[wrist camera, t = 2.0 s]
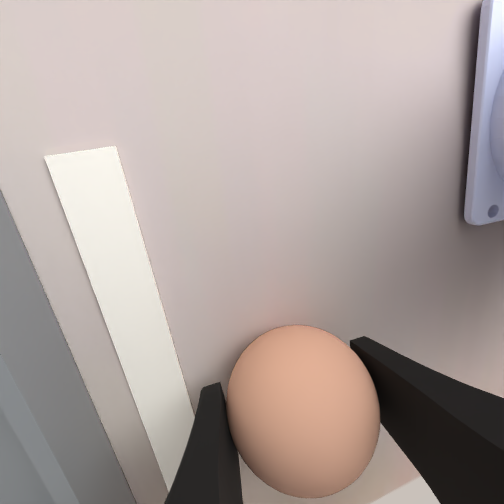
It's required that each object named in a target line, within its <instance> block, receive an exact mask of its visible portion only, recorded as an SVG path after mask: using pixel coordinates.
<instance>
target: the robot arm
mask: <svg viewBox="0 0 504 504" xmlns="http://www.w3.org/2000/svg"><path fill="white" fill-rule="evenodd" d="M464 219H465V221H466V222H467V223H469V224H472V225H484V224H488V223H493V222H497V221H502V220H504V0H483V2H482V7H481V15H480V27H479V39H478V51H477V63H476V76H475V88H474V100H473V112H472V124H471V136H470V148H469V160H468V172H467V184H466V196H465V209H464ZM350 348H351V349H352V350H353V351H354V352H355V353H356V354H357V356H358V357H359V358H360V360H361V361H362V362H363V364H364V365H365V367H366V369H367V370H368V372H369V374H370V376H371V378H372V380H373V383H374V386H375V389H376V392H377V396H378V401H379V407H380V422H381V424H382V425H383V426H384V428H385V429H386V430H387V431H388V433H389V434H390V435H391V437H392V438H393V439H394V440H395V442H396V443H397V444H398V446H399V447H400V448H401V449H402V451H403V452H404V453H405V455H406V456H407V457H408V459H409V460H410V461H411V462H412V464H413V465H414V466H415V468H416V469H417V470H418V472H419V473H420V474H421V476H422V477H423V478H424V480H425V481H426V483H427V484H428V485H429V487H430V488H431V490H432V491H433V493H434V495H435V496H436V497H437V499H438V500H439V502H440V503H441V504H504V398H501V397H499V396H496V395H493V394H491V393H488V392H485V391H482V390H480V389H477V388H474V387H472V386H469V385H467V384H464V383H462V382H459V381H457V380H455V379H452V378H450V377H448V376H445V375H443V374H441V373H438V372H436V371H434V370H432V369H430V368H428V367H425V366H423V365H421V364H419V363H417V362H415V361H413V360H411V359H409V358H407V357H405V356H403V355H401V354H399V353H397V352H395V351H393V350H391V349H389V348H387V347H385V346H383V345H381V344H379V343H377V342H375V341H373V340H372V339H370V338H367V337H365V336H363V337H360V338H356V339H353V340H350ZM164 504H243V500H242V489H241V478H240V467H239V456H238V450H237V448H236V446H235V444H234V441H233V439H232V436H231V433H230V429H229V424H228V419H227V410H226V400H225V397H224V394H223V391H222V387H221V384H220V382H219V383H215V384H212V385H209V386H206V387H203V389H202V390H201V394H200V399H199V403H198V408H197V412H196V415H195V419H194V423H193V426H192V429H191V433H190V436H189V439H188V442H187V445H186V448H185V451H184V454H183V457H182V460H181V462H180V465H179V468H178V471H177V473H176V476H175V479H174V481H173V484H172V486H171V489H170V491H169V494H168V496H167V498H166V501H165V503H164Z"/></svg>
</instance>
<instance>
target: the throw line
mask: <svg viewBox="0 0 504 504" xmlns="http://www.w3.org/2000/svg"><path fill="white" fill-rule="evenodd" d="M44 158H45V161H46V163H47V166H48V169H49V171H50V174H51V177H52V180H53V182H54V185H55V188H56V190H57V193H58V196H59V198H60V201H61V204H62V206H63V209H64V212H65V215H66V217H67V220H68V223H69V225H70V228H71V231H72V233H73V236H74V239H75V242H76V244H77V247H78V250H79V252H80V255H81V258H82V260H83V263H84V266H85V268H86V271H87V274H88V277H89V279H90V282H91V285H92V287H93V290H94V293H95V295H96V298H97V301H98V303H99V306H100V309H101V312H102V314H103V317H104V320H105V322H106V325H107V328H108V330H109V333H110V336H111V338H112V341H113V344H114V347H115V349H116V352H117V355H118V357H119V360H120V363H121V365H122V368H123V371H124V373H125V376H126V379H127V382H128V384H129V387H130V390H131V392H132V395H133V398H134V400H135V403H136V406H137V408H138V411H139V414H140V417H141V419H142V422H143V425H144V427H145V430H146V433H147V435H148V438H149V441H150V443H151V446H152V449H153V452H154V454H155V457H156V460H157V462H158V465H159V468H160V470H161V473H162V476H163V478H164V481H165V484H166V487H167V489H168V492H169V491H170V489H171V486H172V484H173V481H174V479H175V476H176V473H177V471H178V468H179V465H180V462H181V460H182V457H183V454H184V451H185V448H186V445H187V442H188V439H189V436H190V433H191V429H192V426H193V423H194V419H195V415H194V412H193V409H192V405H191V402H190V398H189V395H188V391H187V388H186V384H185V381H184V378H183V374H182V371H181V367H180V364H179V360H178V357H177V354H176V350H175V347H174V343H173V340H172V336H171V333H170V329H169V326H168V323H167V319H166V316H165V312H164V309H163V305H162V302H161V299H160V295H159V292H158V288H157V285H156V281H155V278H154V274H153V271H152V268H151V264H150V261H149V257H148V254H147V250H146V247H145V244H144V240H143V237H142V233H141V230H140V226H139V223H138V219H137V216H136V213H135V209H134V206H133V202H132V199H131V195H130V192H129V189H128V185H127V182H126V178H125V175H124V171H123V168H122V164H121V161H120V158H119V154H118V151H117V147H116V146H110V147H104V148H97V149H90V150H83V151H76V152H70V153H63V154H56V155H49V156H44Z"/></svg>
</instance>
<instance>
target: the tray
mask: <svg viewBox="0 0 504 504" xmlns="http://www.w3.org/2000/svg"><path fill="white" fill-rule="evenodd" d="M0 504H136V502H135V500H134V497H133V495H132V493H131V490H130V488H129V486H128V483H127V481H126V479H125V477H124V474H123V472H122V470H121V467H120V465H119V463H118V460H117V458H116V456H115V453H114V451H113V449H112V447H111V444H110V442H109V440H108V437H107V435H106V433H105V430H104V428H103V426H102V423H101V421H100V419H99V417H98V414H97V412H96V410H95V407H94V405H93V403H92V400H91V398H90V396H89V394H88V391H87V389H86V387H85V384H84V382H83V380H82V377H81V375H80V373H79V370H78V368H77V366H76V364H75V361H74V359H73V357H72V354H71V352H70V350H69V347H68V345H67V343H66V340H65V338H64V336H63V334H62V331H61V329H60V327H59V324H58V322H57V320H56V317H55V315H54V313H53V310H52V308H51V306H50V304H49V301H48V299H47V297H46V294H45V292H44V290H43V287H42V285H41V283H40V280H39V278H38V276H37V274H36V271H35V269H34V267H33V264H32V262H31V260H30V257H29V255H28V253H27V251H26V248H25V246H24V244H23V241H22V239H21V237H20V234H19V232H18V230H17V227H16V225H15V223H14V221H13V218H12V216H11V214H10V211H9V209H8V207H7V204H6V202H5V200H4V197H3V195H2V193H1V191H0Z"/></svg>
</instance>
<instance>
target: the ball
mask: <svg viewBox="0 0 504 504" xmlns="http://www.w3.org/2000/svg"><path fill="white" fill-rule="evenodd" d="M226 410H227V419H228V424H229V429H230V433H231V436H232V439H233V441H234V444H235V446H236V448H237V450H238V452H239V454H240V455H241V457H242V459H243V460H244V462H245V463H246V464H247V465H248V467H249V468H250V469H251V470H252V472H253V473H254V474H255V475H256V476H258V477H259V478H260V479H261V480H262V481H263V482H265V483H266V484H267V485H269V486H271V487H272V488H274V489H276V490H278V491H279V492H282V493H284V494H287V495H291V496H295V497H299V498H320V497H325V496H329V495H332V494H334V493H337V492H339V491H341V490H343V489H344V488H346V487H348V486H349V485H350V484H352V483H353V482H354V481H355V480H356V479H357V478H358V477H359V476H360V475H361V474H362V472H363V471H364V470H365V468H366V467H367V465H368V464H369V462H370V460H371V458H372V456H373V453H374V451H375V448H376V445H377V442H378V437H379V430H380V407H379V401H378V396H377V392H376V389H375V386H374V383H373V380H372V378H371V376H370V374H369V372H368V370H367V369H366V367H365V365H364V364H363V362H362V361H361V360H360V358H359V357H358V356H357V354H356V353H355V352H354V351H353V350H352V349H351V348H350V347H349V346H348V345H347V344H346V343H344V342H343V341H341V340H340V339H339V338H337V337H336V336H334V335H332V334H330V333H328V332H326V331H324V330H322V329H318V328H315V327H310V326H305V325H288V326H283V327H279V328H276V329H273V330H270V331H268V332H266V333H264V334H263V335H261V336H259V337H258V338H257V339H255V340H254V341H253V342H252V343H251V344H250V345H249V346H248V347H247V348H246V349H245V350H244V351H243V353H242V354H241V356H240V357H239V359H238V361H237V362H236V364H235V366H234V368H233V371H232V374H231V377H230V380H229V384H228V389H227V398H226Z"/></svg>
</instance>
